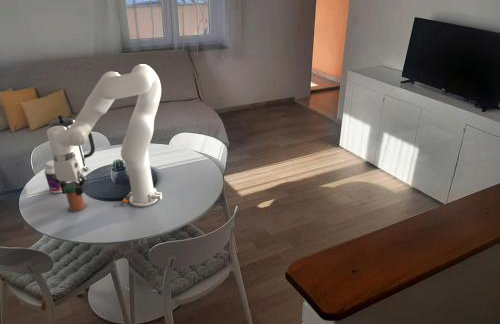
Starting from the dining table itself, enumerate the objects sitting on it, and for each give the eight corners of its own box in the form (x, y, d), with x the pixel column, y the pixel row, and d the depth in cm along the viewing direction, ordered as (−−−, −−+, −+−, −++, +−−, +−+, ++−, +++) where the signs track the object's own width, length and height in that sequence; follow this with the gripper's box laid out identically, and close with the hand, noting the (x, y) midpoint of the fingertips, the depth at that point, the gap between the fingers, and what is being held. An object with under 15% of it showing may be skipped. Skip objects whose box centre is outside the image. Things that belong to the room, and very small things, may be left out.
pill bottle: (62, 194, 189) (54, 167, 182) (46, 193, 190) (38, 166, 184) (72, 186, 196) (65, 159, 189) (57, 184, 197) (49, 158, 191)
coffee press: (81, 178, 203) (67, 121, 189) (52, 176, 205) (36, 120, 192) (98, 162, 218) (86, 108, 204) (71, 161, 220) (57, 108, 207)
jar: (87, 204, 180) (82, 184, 176) (79, 212, 175) (73, 191, 170) (75, 203, 182) (70, 182, 177) (67, 210, 177) (61, 189, 172)
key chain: (132, 192, 190) (131, 189, 189) (139, 193, 188) (138, 190, 188) (115, 206, 179) (114, 204, 178) (122, 208, 178) (122, 205, 177)
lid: (70, 184, 178) (69, 181, 177) (84, 186, 176) (83, 182, 176) (60, 192, 172) (59, 189, 171) (74, 194, 170) (73, 190, 170)
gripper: (87, 153, 168) (96, 190, 176) (51, 150, 172) (61, 187, 180) (76, 161, 162) (86, 199, 170) (39, 158, 166) (50, 195, 174)
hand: (73, 193), depth 175 cm, fingers closed on lid, 6 cm apart
